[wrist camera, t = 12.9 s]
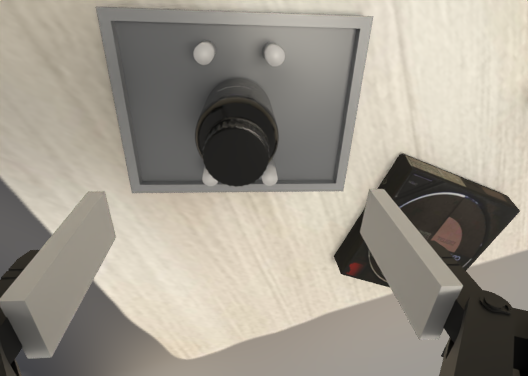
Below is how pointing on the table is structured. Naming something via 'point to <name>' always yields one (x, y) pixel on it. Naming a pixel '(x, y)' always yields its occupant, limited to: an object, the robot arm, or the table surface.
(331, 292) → the table surface
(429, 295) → the robot arm
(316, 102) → the pin tray
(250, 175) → the supplement bottle
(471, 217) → the portable cd player
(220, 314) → the table surface
